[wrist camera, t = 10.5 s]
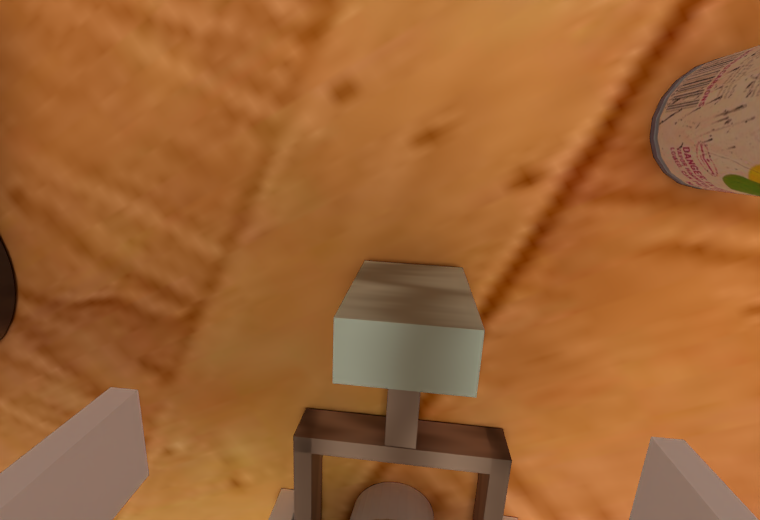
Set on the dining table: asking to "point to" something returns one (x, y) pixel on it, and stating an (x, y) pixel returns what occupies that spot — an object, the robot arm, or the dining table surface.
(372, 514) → the coffee cup
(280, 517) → the light grey u-shaped frame
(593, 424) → the dining table surface
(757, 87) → the aerosol can
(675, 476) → the robot arm
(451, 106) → the dining table surface
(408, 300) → the square frame with handle
